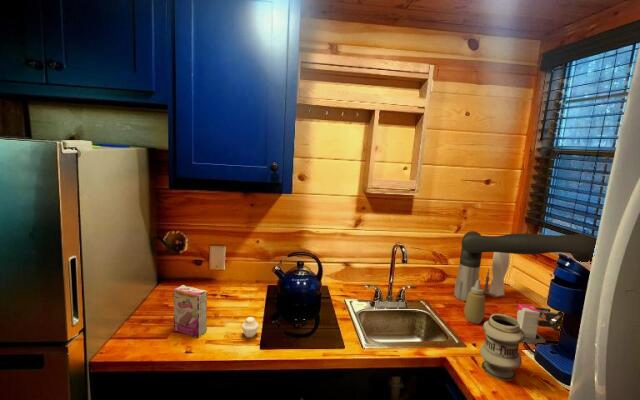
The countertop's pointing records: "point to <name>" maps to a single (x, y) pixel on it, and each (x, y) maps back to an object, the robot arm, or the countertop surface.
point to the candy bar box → (190, 310)
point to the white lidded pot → (250, 327)
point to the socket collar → (534, 339)
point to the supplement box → (528, 320)
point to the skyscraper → (497, 274)
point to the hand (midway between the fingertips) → (532, 317)
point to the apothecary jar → (501, 346)
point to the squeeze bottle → (475, 304)
